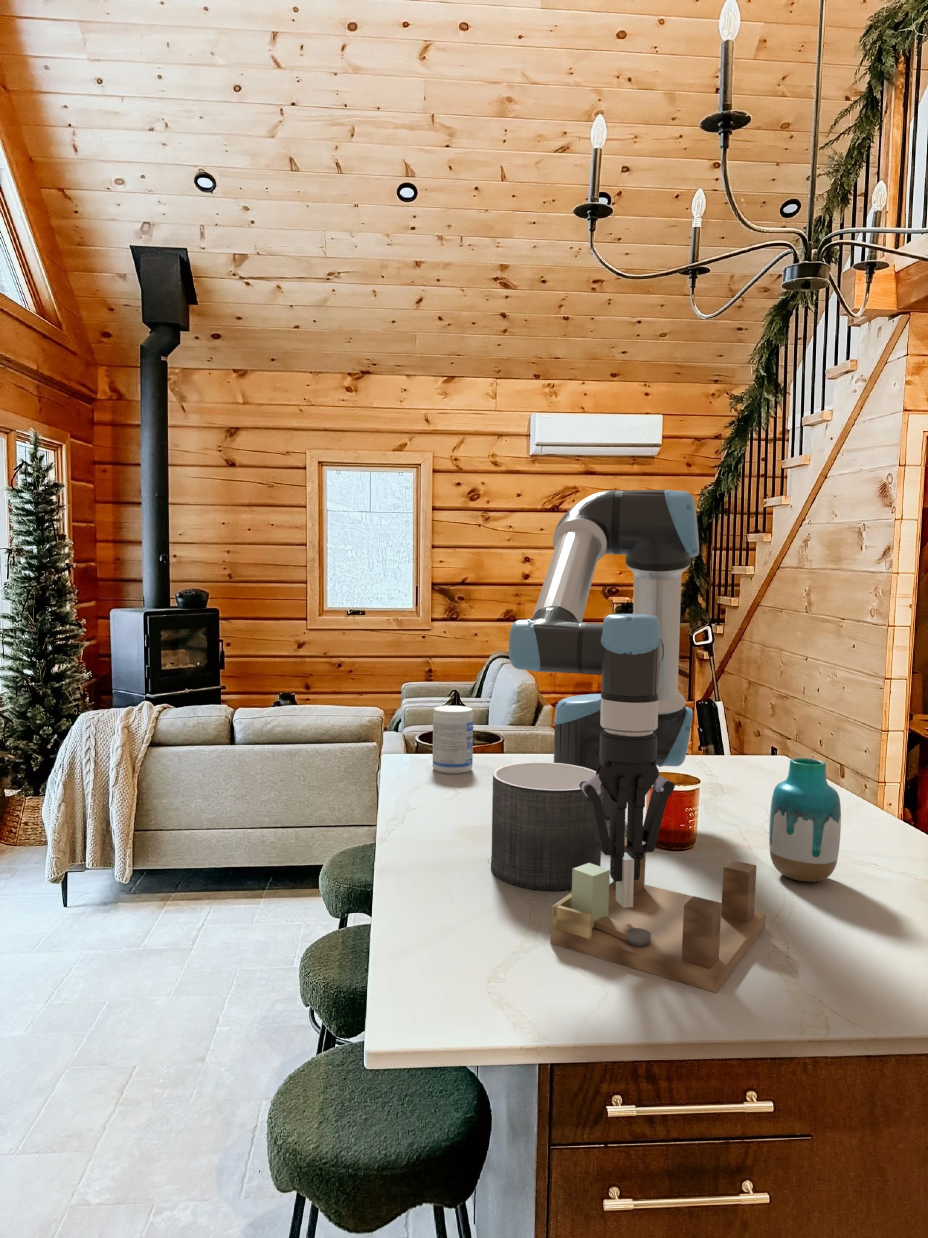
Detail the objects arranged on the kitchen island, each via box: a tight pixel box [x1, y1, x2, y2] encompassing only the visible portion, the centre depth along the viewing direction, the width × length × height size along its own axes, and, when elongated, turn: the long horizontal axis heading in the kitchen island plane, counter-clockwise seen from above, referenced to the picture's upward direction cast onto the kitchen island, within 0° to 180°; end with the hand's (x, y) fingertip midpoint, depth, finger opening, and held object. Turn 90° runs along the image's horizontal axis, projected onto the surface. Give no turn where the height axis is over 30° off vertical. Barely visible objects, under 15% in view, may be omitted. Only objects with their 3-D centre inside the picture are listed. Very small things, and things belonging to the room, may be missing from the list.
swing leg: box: [571, 863, 651, 946], centre depth 112 cm, size 4×11×7 cm, turn 43°
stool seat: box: [549, 836, 767, 994], centre depth 115 cm, size 22×22×9 cm
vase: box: [768, 757, 842, 883], centre depth 137 cm, size 11×11×19 cm
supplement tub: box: [432, 705, 474, 774], centre depth 203 cm, size 10×10×15 cm
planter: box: [490, 761, 604, 891], centre depth 138 cm, size 18×18×16 cm
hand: (624, 903), depth 115 cm, fingers closed
